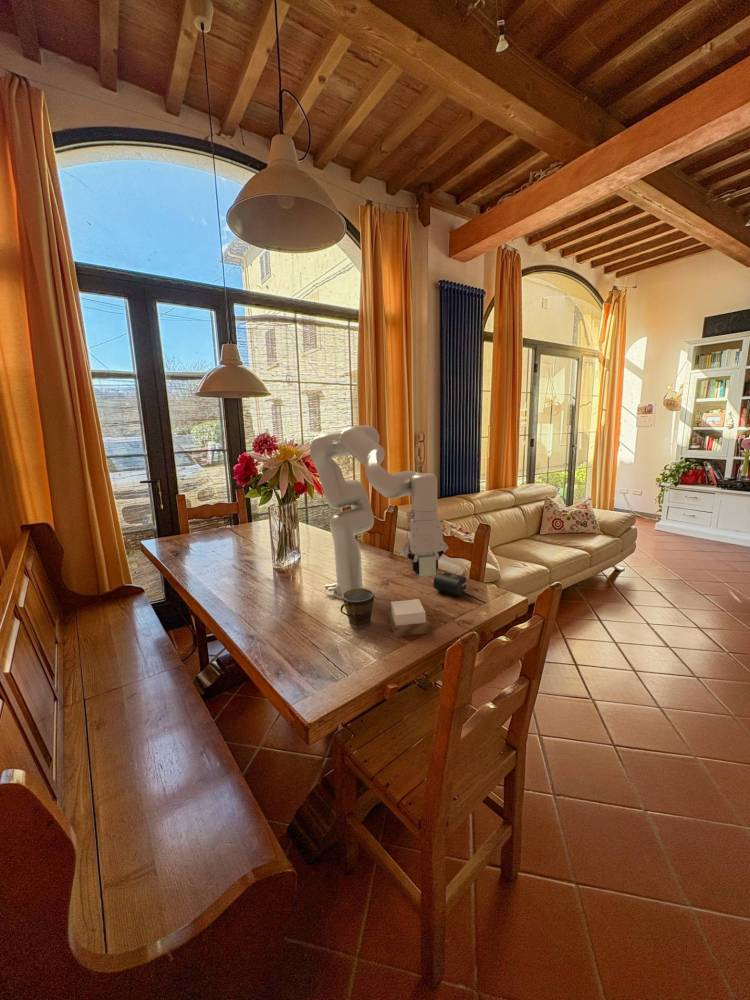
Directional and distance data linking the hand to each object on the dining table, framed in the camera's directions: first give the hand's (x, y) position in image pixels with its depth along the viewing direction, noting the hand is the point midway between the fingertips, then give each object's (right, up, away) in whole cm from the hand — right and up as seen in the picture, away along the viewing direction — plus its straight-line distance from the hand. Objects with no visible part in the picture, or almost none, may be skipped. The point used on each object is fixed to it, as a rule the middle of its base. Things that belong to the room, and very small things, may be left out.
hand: (425, 571), depth 125 cm
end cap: (+12, -12, +24) cm, 29 cm away
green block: (0, 0, 0) cm, 1 cm away
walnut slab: (-5, -18, +2) cm, 19 cm away
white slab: (-5, -14, +1) cm, 15 cm away
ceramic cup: (-21, -18, +3) cm, 28 cm away
